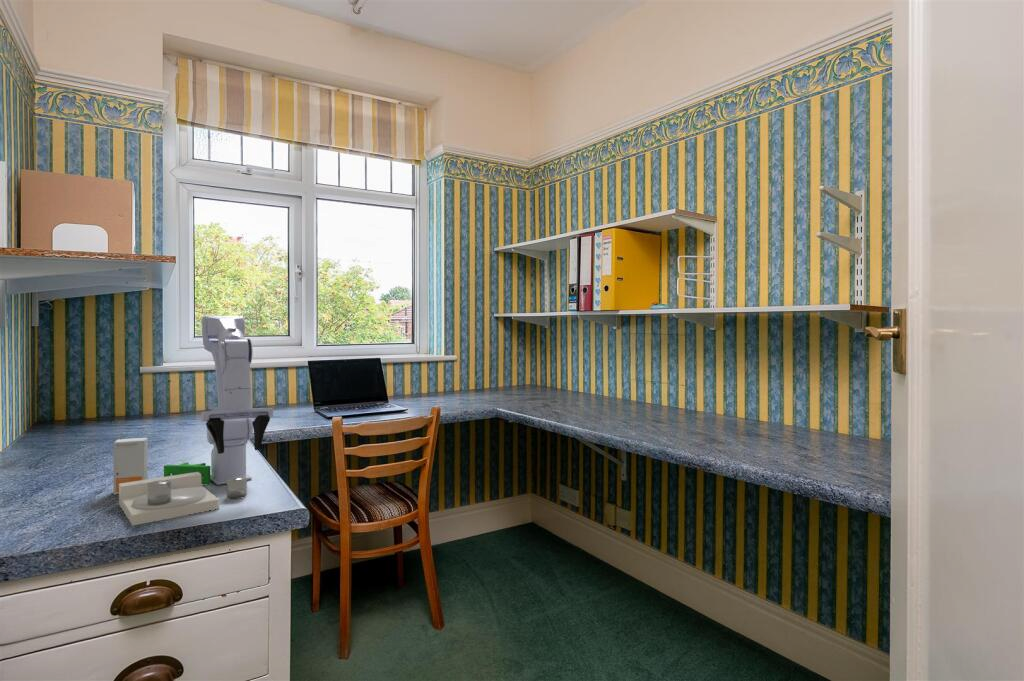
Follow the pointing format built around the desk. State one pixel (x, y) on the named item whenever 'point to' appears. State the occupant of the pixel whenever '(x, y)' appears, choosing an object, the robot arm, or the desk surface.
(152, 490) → the cylinder
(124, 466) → the skincare box
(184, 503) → the scale
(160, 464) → the desk surface
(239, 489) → the cylinder
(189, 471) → the pipe clamp
